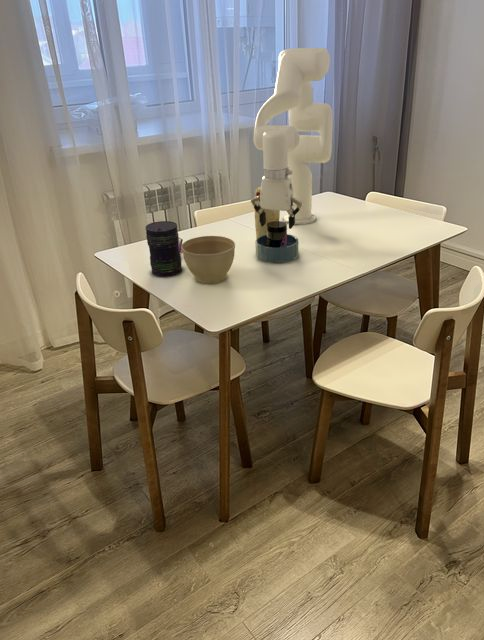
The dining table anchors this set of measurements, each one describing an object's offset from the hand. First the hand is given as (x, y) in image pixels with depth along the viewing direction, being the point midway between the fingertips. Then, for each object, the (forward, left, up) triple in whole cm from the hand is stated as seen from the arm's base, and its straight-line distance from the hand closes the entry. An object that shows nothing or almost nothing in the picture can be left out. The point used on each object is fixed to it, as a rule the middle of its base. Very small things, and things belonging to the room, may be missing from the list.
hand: (277, 226), depth 176 cm
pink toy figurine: (+8, -34, -10) cm, 36 cm away
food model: (-12, -8, -10) cm, 18 cm away
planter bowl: (+24, -14, -10) cm, 29 cm away
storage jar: (+23, -30, -10) cm, 39 cm away
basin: (+1, 0, -10) cm, 10 cm away
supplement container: (+1, 0, -10) cm, 10 cm away
